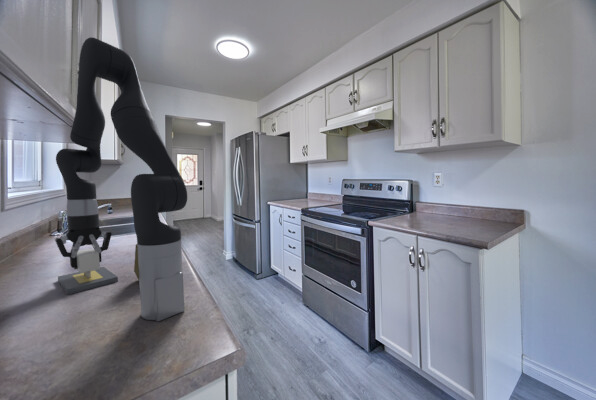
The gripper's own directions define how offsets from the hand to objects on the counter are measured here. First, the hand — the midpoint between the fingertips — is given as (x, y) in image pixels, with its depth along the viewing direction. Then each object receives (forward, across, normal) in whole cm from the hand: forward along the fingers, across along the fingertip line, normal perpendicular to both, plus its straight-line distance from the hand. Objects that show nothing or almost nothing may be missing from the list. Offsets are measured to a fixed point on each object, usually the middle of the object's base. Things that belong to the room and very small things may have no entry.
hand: (86, 266), depth 80 cm
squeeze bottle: (+5, +13, -14) cm, 20 cm away
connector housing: (+1, 0, 0) cm, 1 cm away
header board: (+5, 0, 0) cm, 5 cm away
